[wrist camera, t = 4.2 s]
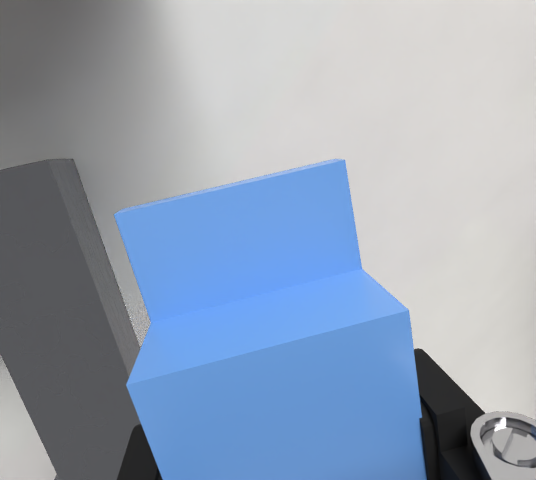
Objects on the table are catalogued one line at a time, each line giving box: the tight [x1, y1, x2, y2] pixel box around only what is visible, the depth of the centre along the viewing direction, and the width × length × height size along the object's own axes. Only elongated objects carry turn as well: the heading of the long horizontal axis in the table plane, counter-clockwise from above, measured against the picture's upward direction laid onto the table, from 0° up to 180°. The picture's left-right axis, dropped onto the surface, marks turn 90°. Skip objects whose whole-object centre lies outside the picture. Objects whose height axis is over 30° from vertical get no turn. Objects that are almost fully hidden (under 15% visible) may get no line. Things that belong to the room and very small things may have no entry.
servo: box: [114, 159, 427, 480], centre depth 9 cm, size 4×12×6 cm, turn 13°
